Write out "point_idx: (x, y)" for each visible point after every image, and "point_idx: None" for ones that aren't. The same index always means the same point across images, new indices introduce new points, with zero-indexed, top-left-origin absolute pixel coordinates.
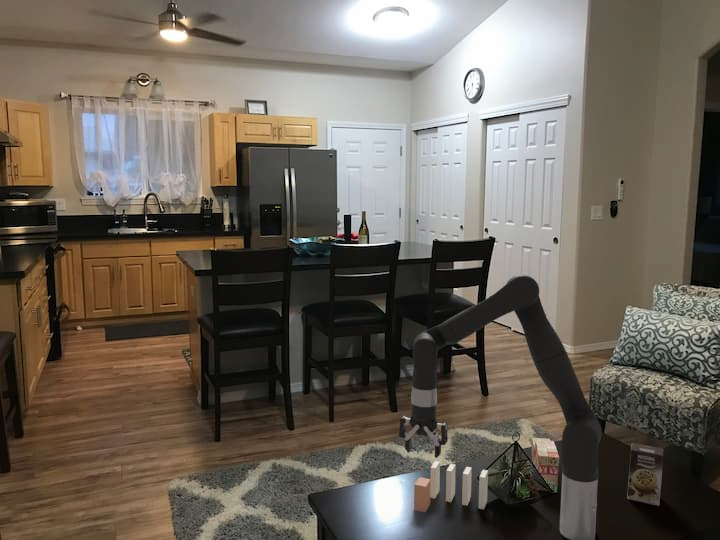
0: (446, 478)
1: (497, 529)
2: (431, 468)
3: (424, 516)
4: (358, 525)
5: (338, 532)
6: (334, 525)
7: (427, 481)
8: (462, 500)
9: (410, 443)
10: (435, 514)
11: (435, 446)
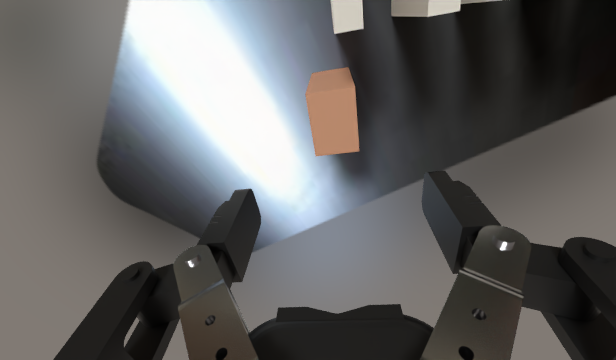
0: (415, 16)
1: (579, 93)
2: (339, 32)
3: None
4: None
5: None
6: None
7: (350, 112)
8: (462, 2)
9: (241, 239)
10: (382, 112)
11: (457, 270)
